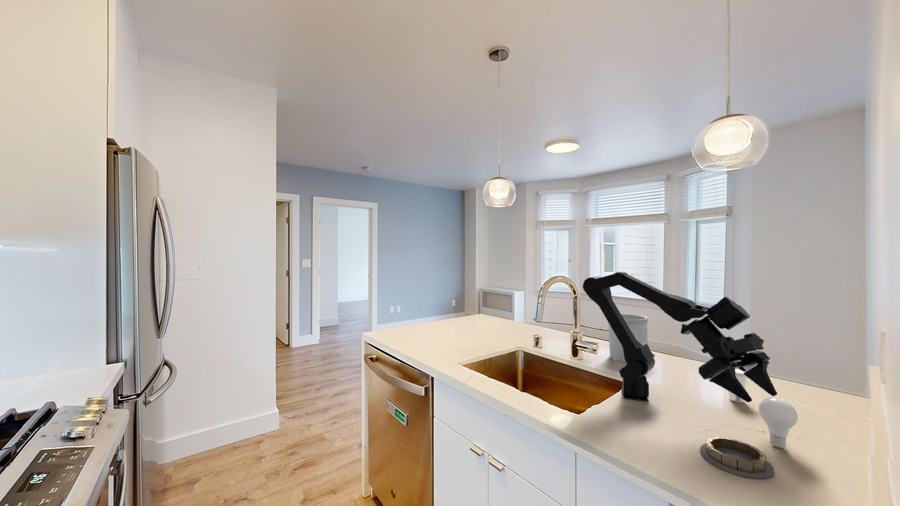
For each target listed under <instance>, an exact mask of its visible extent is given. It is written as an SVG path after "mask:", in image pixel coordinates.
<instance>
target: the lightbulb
mask: <svg viewBox="0 0 900 506" xmlns="http://www.w3.org/2000/svg"><path fill="white" fill-rule="evenodd" d="M758 413H759V415H760V416H761V418H762V420H763V421H764V423H765V424H766V426H767V427H766V428H767V429H768V430H767V431H768V432H769V443H770V444H771V445H772V446H773V447H775V448H777V449H785V448H787V436H788V435H789V432H790V429H792V428H793V427H794V426H796V424H797V422H798V420H799V416H798V415H799V414H798V412H797V410H796V408H795V407H794V406H793V404H791V403H790V402H788V401H787V400H785V399H782V398H779V397H775V396H771V397H767V398H764V399H762V400H761V401H760V403H759V404H758Z"/></svg>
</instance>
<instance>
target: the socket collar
mask: <svg viewBox="0 0 900 506" xmlns="http://www.w3.org/2000/svg"><path fill="white" fill-rule="evenodd" d="M705 444H706V452H707V453H708V455H709V457H710V458H712V459H713V460H715V461H716V462H718V463H720V464H722V465H724V466H726V467H729V468H731V469H734V470H738V471H742V472H747V473H761V472H765V470H766V467H767V461H768V460H767V459H768V458H767V456H766V454H765V453H764V452H763V451H762V450H761V449H760V448H757V447H755V446H753V445H751V444H750V443H748V442H745V441H742V440H739V439H735V438H732V437H726V436H710V437H708V438H707V439H706V440H705ZM720 447H723V448H729V449H734V450H737V451H740V452H743V453H746V454H748V455H749V456H751V457H753V458H755V459H756V460H753V461H748V460H742V459H736V458H734V457H731V456H728V455H725V454H723V453H721V452H720V451H718V450H716V449H715V448H720Z"/></svg>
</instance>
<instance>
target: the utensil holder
mask: <svg viewBox="0 0 900 506" xmlns="http://www.w3.org/2000/svg"><path fill="white" fill-rule="evenodd" d="M620 313H621V315H622V317H623V318H624V320H625V322H626V323H627V325H628V327H629V328H630V330H631V332H632V333H633V335H634V337H635V338H636V340H637V341H638V342H639V343H640V344H642V345H645V344H647V345H648V322H649V317H648V316H646V315H644V314H643V315H642V314H636V313H629V312H628V313H624V312H620ZM611 331H613V330H612V328H611V326H610V324H609V323H608V343H609V346H608V347H609V357H610V359H612V360H614V361H616V362H619V363H625V364H627V363H626V361H625V358H624V353H623V347H622V345H621V343H620V342H619V340H618V338H617V336H616V335H615V333H614V332H611Z"/></svg>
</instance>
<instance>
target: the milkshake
mask: <svg viewBox="0 0 900 506" xmlns="http://www.w3.org/2000/svg"><path fill="white" fill-rule="evenodd" d="M743 373H745V372H743V371H742V370H740V369H738V368H735V374H736V378H737V379H738V380H739V382H740V383H741V385H742V386H743V387H744V389H745V390H746V383H747V377H746V376H745V375H744V374H743ZM728 396H729V397H728V398H729V400H730V401H731V402H734V403H740V404H741V403H742V404H743V403H744V402H745V400H743V399H741V398H740V397H738V396H736V395H735V394H733V393H731V392H730V391H728Z"/></svg>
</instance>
